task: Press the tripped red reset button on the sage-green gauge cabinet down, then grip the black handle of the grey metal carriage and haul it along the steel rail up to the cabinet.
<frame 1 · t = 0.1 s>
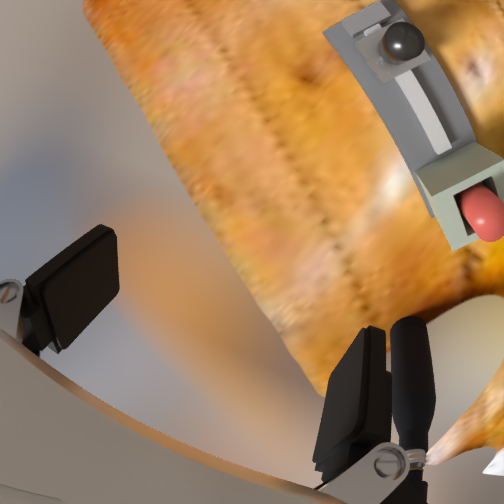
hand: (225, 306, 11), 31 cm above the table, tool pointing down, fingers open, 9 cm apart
wine bottle: (408, 330, 46), on the table
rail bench: (418, 106, 30), on the table
reset button: (481, 208, 24), point 11 cm above the table, slide at 0.0 cm
carriage: (395, 48, 22), point 8 cm above the table, slide at -7.0 cm
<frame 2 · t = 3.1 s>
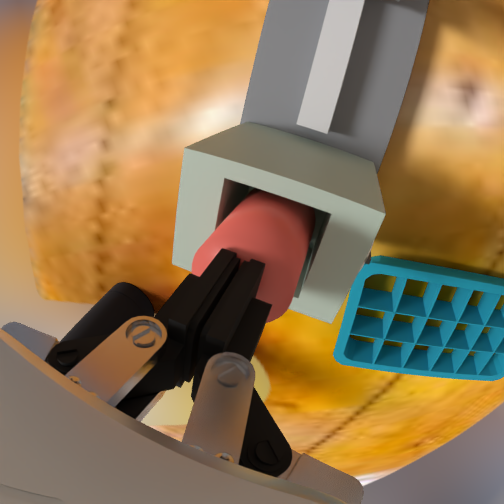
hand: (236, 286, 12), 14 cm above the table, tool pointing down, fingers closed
ice cube tray: (444, 311, 25), on the table
wine bottle: (133, 302, 37), on the table
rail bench: (336, 52, 17), on the table
reset button: (262, 245, 14), point 11 cm above the table, slide at 0.2 cm, touching gripper
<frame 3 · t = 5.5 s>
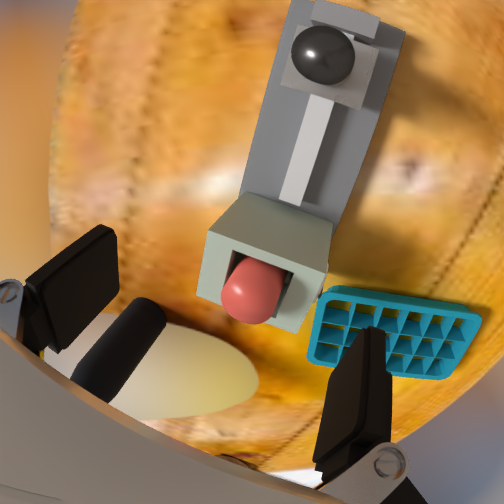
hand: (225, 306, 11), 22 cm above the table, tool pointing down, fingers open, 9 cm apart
ice cube tray: (393, 325, 35), on the table
wine bottle: (149, 313, 46), on the table
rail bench: (311, 140, 28), on the table
reset button: (258, 279, 25), point 10 cm above the table, slide at 1.4 cm
carriage: (328, 63, 17), point 8 cm above the table, slide at -7.0 cm
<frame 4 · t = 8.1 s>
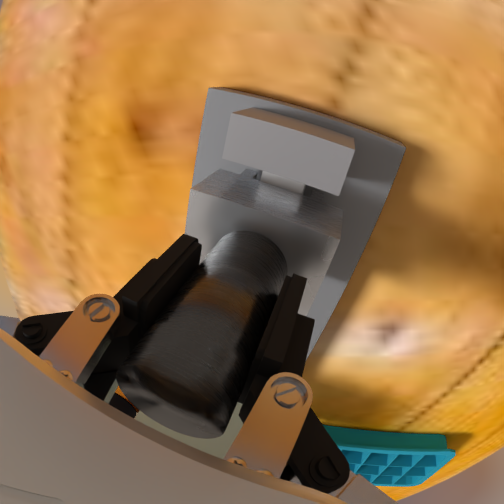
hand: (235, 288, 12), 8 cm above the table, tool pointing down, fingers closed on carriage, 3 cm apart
ice cube tray: (361, 445, 29), on the table
wine bottle: (119, 402, 41), on the table
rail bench: (254, 298, 22), on the table
carriage: (237, 286, 12), point 8 cm above the table, slide at -7.0 cm, touching gripper
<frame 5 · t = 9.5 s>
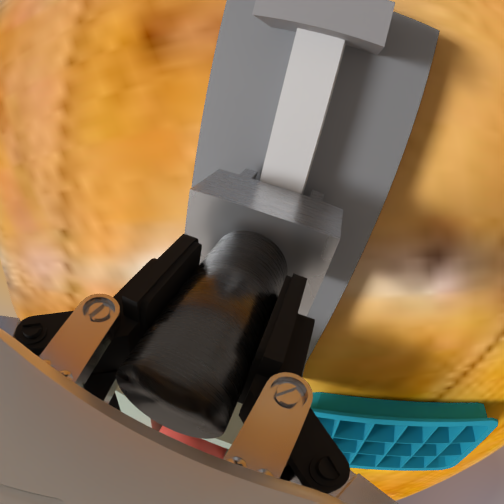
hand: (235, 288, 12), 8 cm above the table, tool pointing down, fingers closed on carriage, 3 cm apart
ice cube tray: (391, 423, 26), on the table
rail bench: (277, 221, 18), on the table
reset button: (195, 436, 16), point 10 cm above the table, slide at 1.4 cm
carriage: (237, 286, 12), point 8 cm above the table, slide at -0.8 cm, touching gripper
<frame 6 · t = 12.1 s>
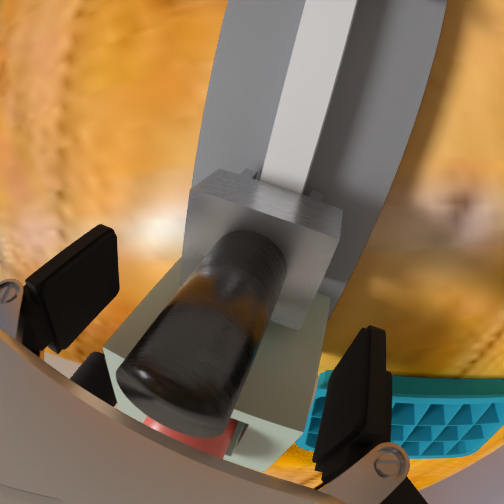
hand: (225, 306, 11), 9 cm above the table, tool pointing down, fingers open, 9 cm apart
ice cube tray: (409, 405, 24), on the table
wine bottle: (110, 368, 36), on the table
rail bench: (294, 162, 16), on the table
reset button: (198, 410, 14), point 10 cm above the table, slide at 1.4 cm
carriage: (236, 285, 12), point 8 cm above the table, slide at 3.0 cm
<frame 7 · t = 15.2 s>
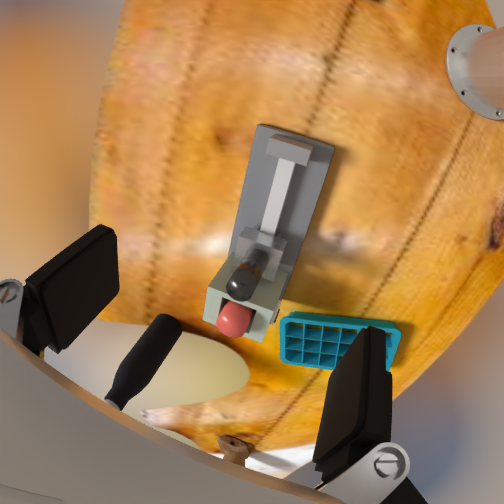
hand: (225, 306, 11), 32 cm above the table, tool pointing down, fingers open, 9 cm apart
ice cube tray: (339, 336, 53), on the table
wine bottle: (169, 324, 64), on the table
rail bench: (272, 220, 45), on the table
reset button: (237, 312, 42), point 10 cm above the table, slide at 1.4 cm
brown boot: (238, 445, 87), on the table
carriage: (253, 265, 40), point 8 cm above the table, slide at 3.0 cm
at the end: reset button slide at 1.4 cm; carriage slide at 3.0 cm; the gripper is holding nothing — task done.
